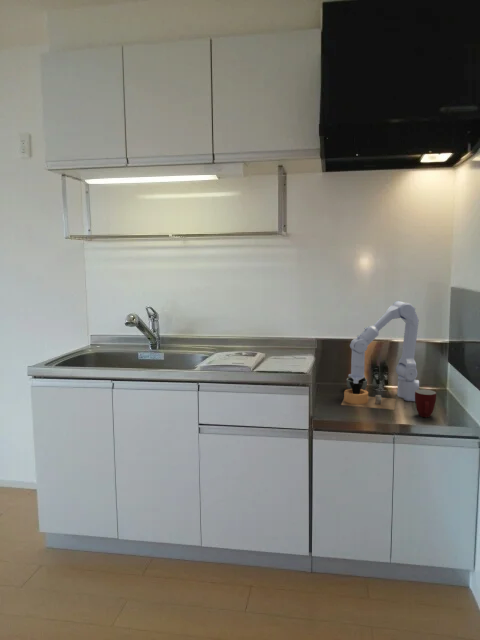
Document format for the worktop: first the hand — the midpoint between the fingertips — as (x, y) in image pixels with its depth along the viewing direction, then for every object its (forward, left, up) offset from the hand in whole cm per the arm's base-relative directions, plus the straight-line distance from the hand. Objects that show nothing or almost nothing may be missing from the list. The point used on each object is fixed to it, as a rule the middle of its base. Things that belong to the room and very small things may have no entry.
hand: (357, 395), depth 225 cm
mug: (-28, +14, -3) cm, 32 cm away
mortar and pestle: (+1, -11, -3) cm, 12 cm away
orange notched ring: (0, +4, -1) cm, 4 cm away
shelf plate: (-6, +4, -2) cm, 7 cm away
